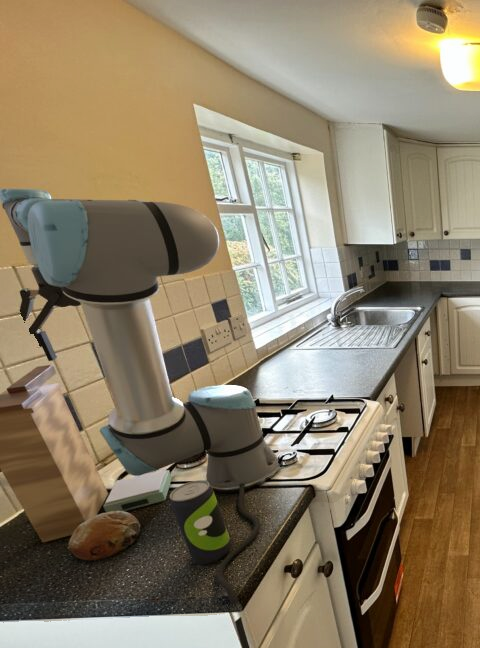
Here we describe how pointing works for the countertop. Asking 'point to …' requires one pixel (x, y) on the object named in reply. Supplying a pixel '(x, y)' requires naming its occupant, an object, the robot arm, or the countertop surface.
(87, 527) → the bread roll
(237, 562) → the countertop surface
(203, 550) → the beverage can
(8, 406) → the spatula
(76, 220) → the robot arm
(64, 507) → the stand
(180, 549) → the countertop surface
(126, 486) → the scale
